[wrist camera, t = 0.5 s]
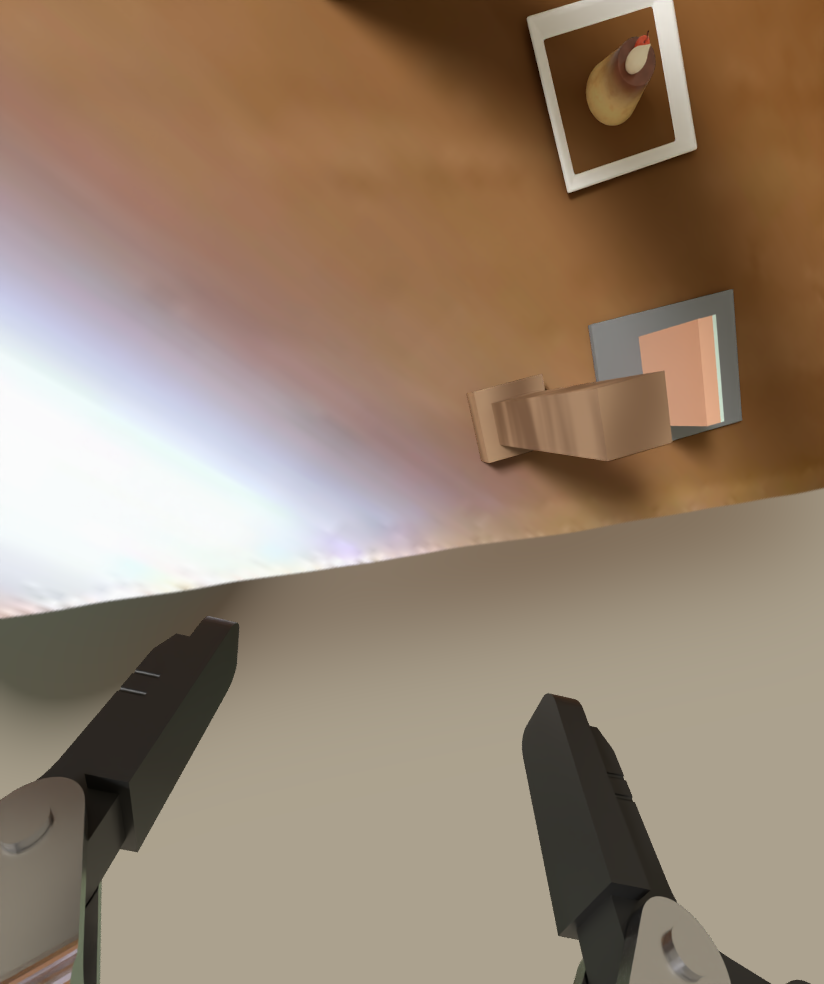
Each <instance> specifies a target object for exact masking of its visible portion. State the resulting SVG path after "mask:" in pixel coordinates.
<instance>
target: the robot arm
mask: <svg viewBox="0 0 824 984" xmlns="http://www.w3.org/2000/svg"><path fill="white" fill-rule="evenodd" d="M238 638H239V624H238V623H236V622H232V621H227V620H223V619H218V618H214V617H209V616H208V617H206V618H204V619H203V620H202V621H201V623H200V624H199V626H197V628H196V629H195V630H194V632H193V633H192V634H191V636H190V637H189V636H185V635H180V634H175V635H174V636H172V637H171V638H169V639H167V640H166V641H164V642H163V643H161V644H160V645H158V646H157V647H155V648H154V649H153V650H152V651H151V652H150V653H149V654H148V655H147V657H146V658H145V659H144V660H143V661H142V662H141V664H140V665H139V666H138V667H137V668H136V671H135V673H134V674H133V673H132V674H131V675H130V677H129V678H128V679H127V680H126V681H125V682H124V684H123V685H122V686H121V689H120V690H119V691H117V692H116V693H115V694H114V695H113V697H112V698H111V699H110V700H109V701H108V702H107V704H106V705H105V706H104V707H103V708H102V710H101V711H100V712H99V713H98V714H97V715H96V717H95V718H94V719H93V720H92V721H91V722H90V724H89V725H88V726H87V727H86V728H85V729H84V731H83V732H82V733H81V734H80V735H79V736H78V738H77V739H76V740H75V741H74V743H73V744H72V745H71V746H70V747H69V748H68V749H67V751H66V752H65V753H64V754H63V755H62V756H61V758H60V759H59V760H58V761H57V762H56V763H55V764H54V765H53V766H52V767H51V769H49V770H48V771H47V772H46V773H45V774H44V775H43V776H41V777H40V778H39V779H37V780H36V781H34V782H31V783H29V784H26V785H24V786H22V787H20V788H18V789H16V790H14V791H13V792H11V793H10V794H8V795H7V796H5V797H4V798H2V799H1V800H0V984H100V956H101V894H102V892H101V890H102V878H103V876H104V875H105V873H106V871H107V869H108V868H109V866H110V865H111V863H112V861H113V860H114V858H115V856H116V855H117V853H118V851H119V849H123V850H129V851H134V852H138V851H139V849H140V847H141V845H142V843H143V842H144V840H145V838H146V836H147V834H148V833H149V831H150V829H151V827H152V826H153V824H154V822H155V820H156V818H157V816H158V815H159V813H160V811H161V809H162V808H163V806H164V804H165V802H166V800H167V798H168V797H169V795H170V793H171V791H172V790H173V788H174V786H175V784H176V782H177V781H178V779H179V777H180V775H181V774H182V771H183V770H184V768H185V766H186V764H187V763H188V761H189V759H190V757H191V756H192V754H193V752H194V750H195V748H196V747H197V745H198V743H199V741H200V739H201V737H202V736H203V734H204V732H205V730H206V729H207V727H208V725H209V723H210V721H211V719H212V718H213V716H214V714H215V712H216V711H217V709H218V707H219V705H220V703H221V702H222V700H223V698H224V696H225V695H226V693H227V691H228V689H229V687H230V685H231V682H232V680H233V677H234V673H235V670H236V666H237V653H238ZM522 752H523V759H524V764H525V769H526V774H527V779H528V784H529V789H530V795H531V799H532V805H533V810H534V815H535V820H536V825H537V830H538V835H539V840H540V845H541V850H542V855H543V860H544V866H545V870H546V876H547V881H548V886H549V891H550V896H551V901H552V906H553V911H554V916H555V921H556V926H557V931H558V936H562V937H567V938H572V939H577V940H579V942H580V946H581V951H582V955H583V959H582V960H581V962H580V964H579V966H578V969H577V972H576V976H575V980H574V983H573V984H771V983H769V982H767V981H765V980H764V979H762V978H761V977H759V976H758V975H756V974H754V973H753V972H751V971H749V970H748V969H746V968H744V967H743V966H741V965H740V964H738V963H737V962H735V961H733V960H731V959H730V958H729V957H727V956H725V955H724V954H722V953H721V952H720V951H718V949H717V947H716V946H715V944H714V942H713V941H712V939H711V938H710V936H709V935H708V934H707V932H706V931H705V929H704V928H703V927H702V925H701V924H700V923H699V922H698V921H697V920H696V918H694V916H693V915H692V914H691V913H690V912H688V911H687V910H686V909H685V908H683V907H682V906H681V905H679V904H678V903H677V902H676V899H675V898H674V896H673V894H672V892H671V889H670V887H669V885H668V882H667V880H666V878H665V875H664V873H663V870H662V868H661V865H660V863H659V860H658V858H657V855H656V853H655V851H654V848H653V846H652V843H651V841H650V838H649V836H648V833H647V831H646V829H645V826H644V824H643V821H642V819H641V816H640V814H639V812H638V809H637V807H636V804H635V802H633V801H632V794H631V792H630V789H629V787H628V785H627V782H626V781H625V780H624V778H623V776H624V775H623V772H622V770H621V768H620V765H619V763H618V760H617V758H616V755H615V753H614V751H613V749H612V748H611V746H610V745H609V743H608V742H607V741H606V739H605V738H604V737H603V736H602V734H601V732H600V731H599V730H598V728H597V727H592V726H589V723H588V721H587V718H586V715H585V713H584V710H583V708H582V705H581V704H580V703H579V701H577V700H575V699H571V698H567V697H563V696H558V695H553V694H545V695H544V697H543V698H542V700H541V702H540V704H539V705H538V707H537V709H536V710H535V712H534V714H533V716H532V717H531V719H530V721H529V723H528V725H527V726H526V728H525V730H524V734H523V740H522ZM787 984H810V983H807V982H805V981H802V980H793V981H790V982H788V983H787Z"/></svg>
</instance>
